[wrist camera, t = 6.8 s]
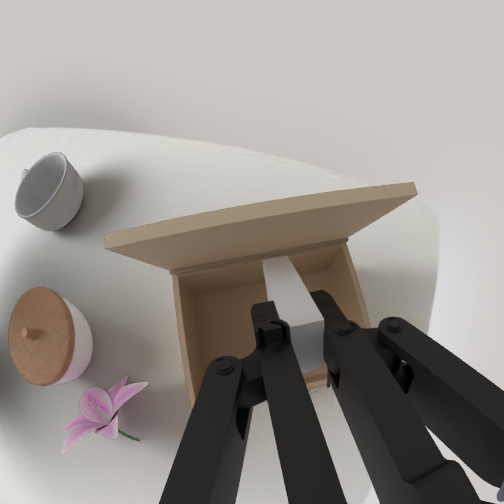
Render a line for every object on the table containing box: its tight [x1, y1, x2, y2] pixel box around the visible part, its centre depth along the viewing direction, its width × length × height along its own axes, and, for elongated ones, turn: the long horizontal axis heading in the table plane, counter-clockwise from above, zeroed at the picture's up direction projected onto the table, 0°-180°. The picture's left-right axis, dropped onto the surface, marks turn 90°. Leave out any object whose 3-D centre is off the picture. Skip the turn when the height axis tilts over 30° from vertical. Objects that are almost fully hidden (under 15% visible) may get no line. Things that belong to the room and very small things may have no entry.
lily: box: [61, 376, 149, 455], centre depth 22 cm, size 12×12×10 cm
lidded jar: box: [8, 287, 93, 386], centre depth 24 cm, size 11×11×9 cm
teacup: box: [15, 152, 84, 231], centre depth 33 cm, size 14×11×8 cm
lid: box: [105, 182, 418, 274], centre depth 18 cm, size 12×16×1 cm
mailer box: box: [172, 242, 371, 409], centre depth 26 cm, size 12×16×7 cm
